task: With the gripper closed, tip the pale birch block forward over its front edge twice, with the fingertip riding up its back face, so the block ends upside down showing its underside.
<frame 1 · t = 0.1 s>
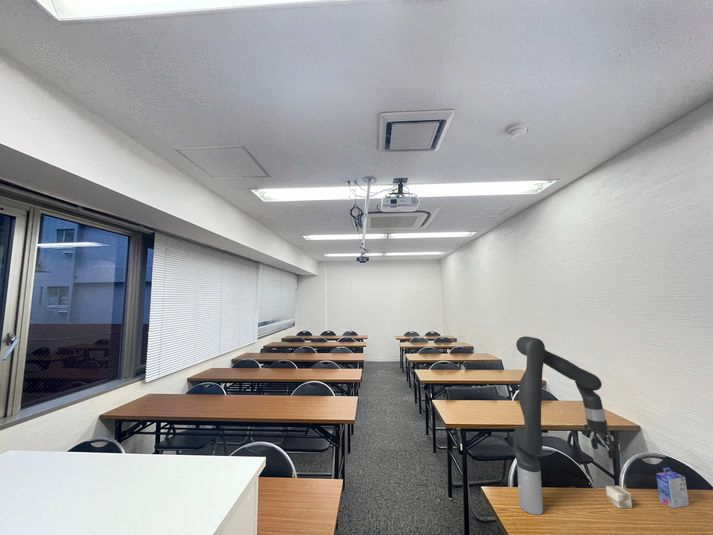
hand: (603, 453, 135), 22 cm above the table, tool pointing down, fingers open, 8 cm apart
ink cartridge box: (673, 503, 134), on the table
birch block: (619, 504, 133), on the table
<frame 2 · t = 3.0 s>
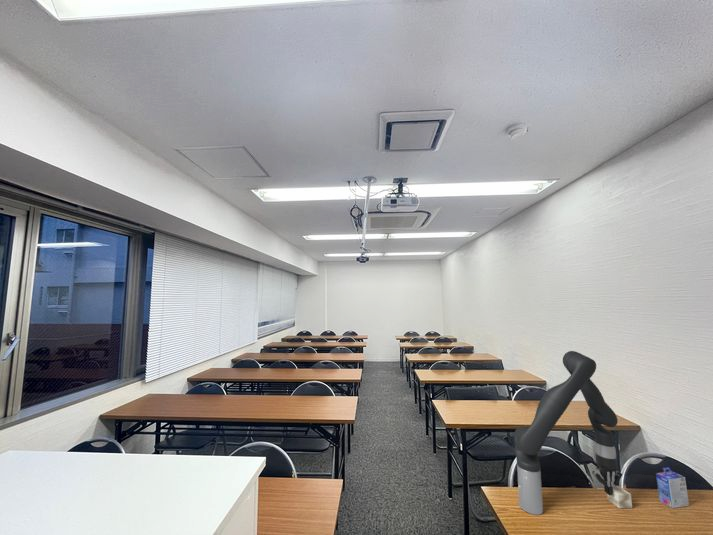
hand: (609, 494, 134), 4 cm above the table, tool pointing down, fingers closed
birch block: (619, 504, 133), on the table, touching gripper
everything else where it was.
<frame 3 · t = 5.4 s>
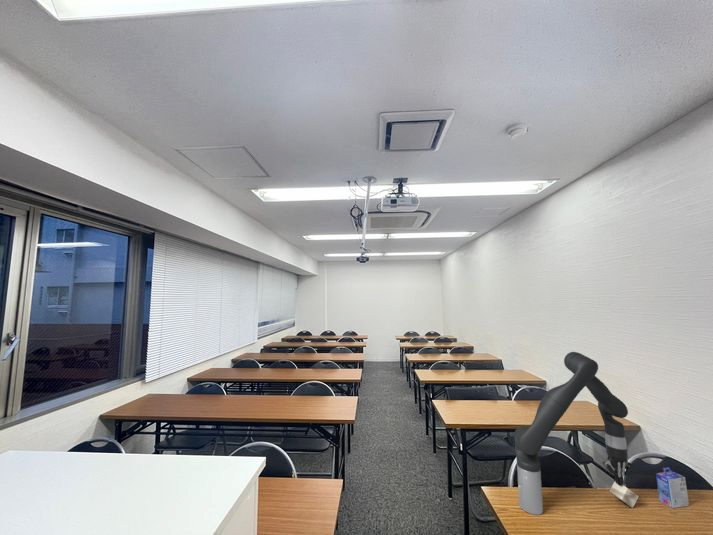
hand: (619, 484, 134), 8 cm above the table, tool pointing down, fingers closed
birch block: (620, 499, 134), point 2 cm above the table, tilted 36°, touching gripper
everything else where it was.
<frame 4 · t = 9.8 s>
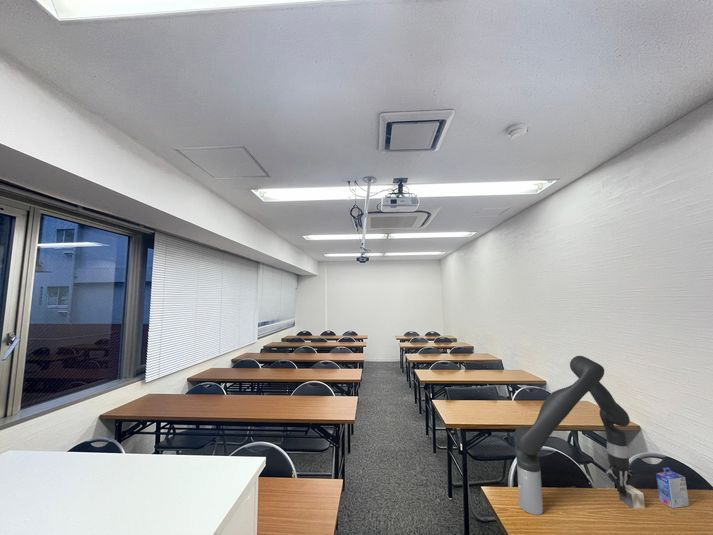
hand: (621, 493, 134), 4 cm above the table, tool pointing down, fingers closed
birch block: (625, 496, 134), point 3 cm above the table, tilted 90°, touching gripper
everything else where it was.
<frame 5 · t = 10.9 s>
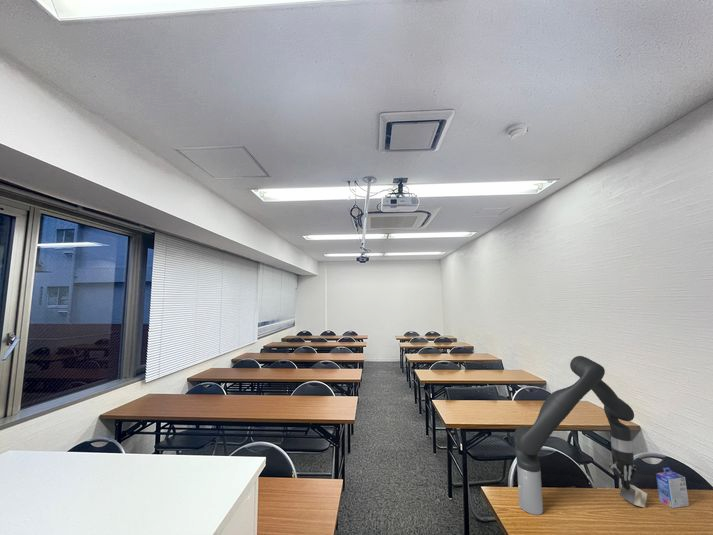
hand: (625, 487, 134), 7 cm above the table, tool pointing down, fingers closed
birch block: (627, 492, 134), point 5 cm above the table, tilted 107°, touching gripper
everything else where it was.
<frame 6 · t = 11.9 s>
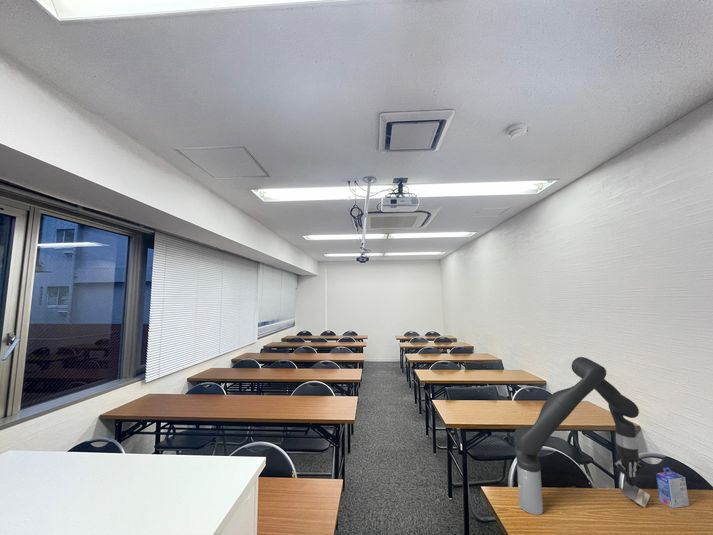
hand: (630, 484, 135), 8 cm above the table, tool pointing down, fingers closed
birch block: (629, 490, 134), point 6 cm above the table, tilted 122°, touching gripper
everything else where it was.
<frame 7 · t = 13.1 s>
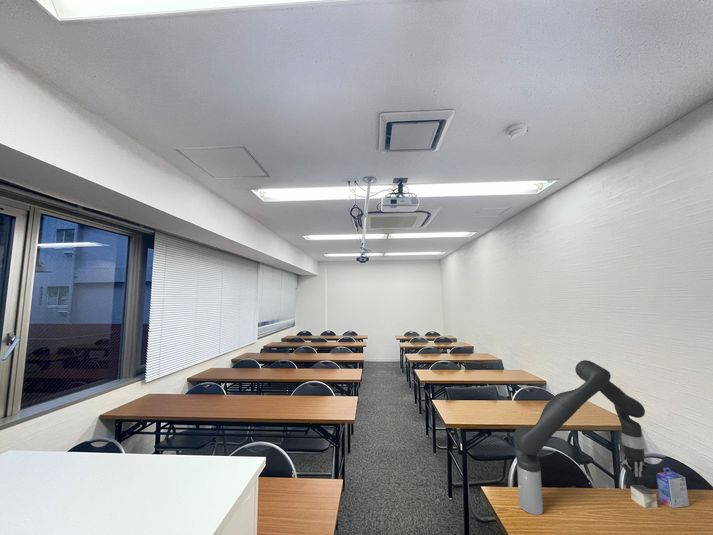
hand: (636, 484, 135), 8 cm above the table, tool pointing down, fingers closed
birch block: (642, 489, 135), point 6 cm above the table, tilted 180°
everything else where it was.
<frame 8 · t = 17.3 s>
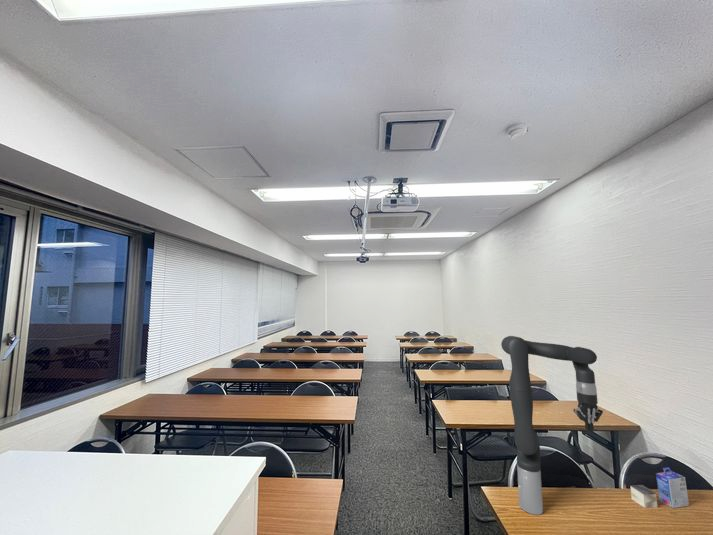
hand: (589, 431, 134), 33 cm above the table, tool pointing down, fingers closed
nothing on the table moved.
at the end: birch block tilted 180°; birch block inside the target area (0.6 cm from its centre), point 5.9 cm above the table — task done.
